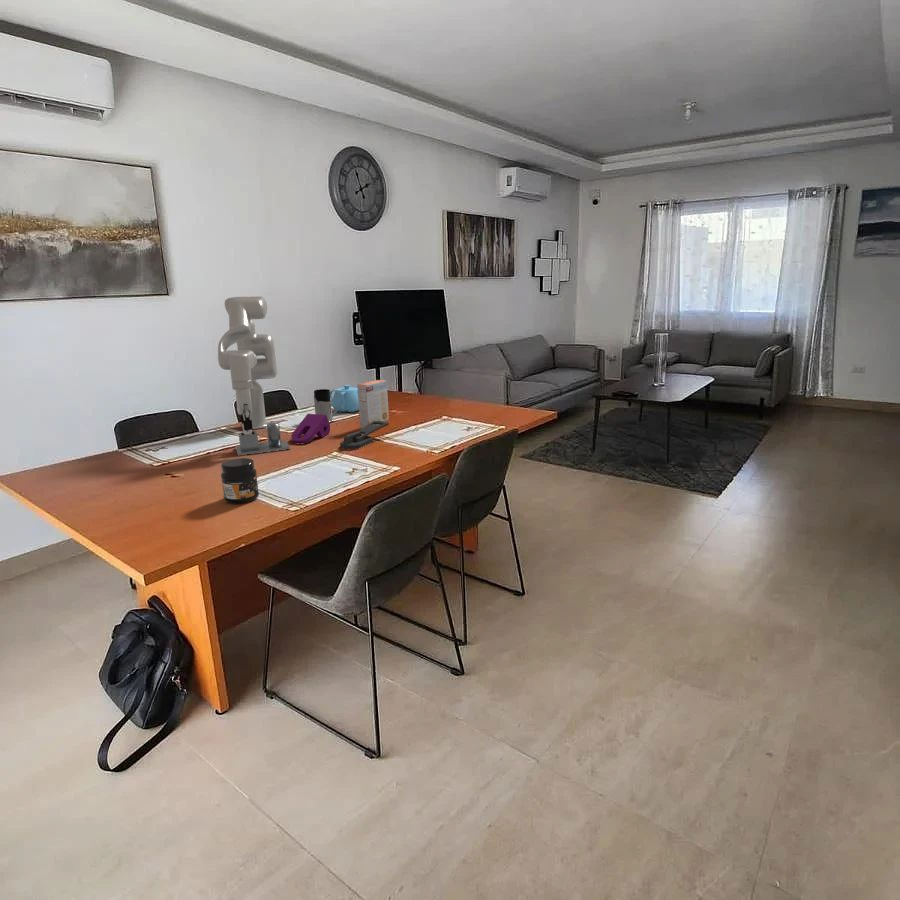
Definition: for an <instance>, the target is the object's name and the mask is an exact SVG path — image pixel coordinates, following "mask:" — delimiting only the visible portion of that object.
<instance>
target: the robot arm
mask: <svg viewBox="0 0 900 900" xmlns="http://www.w3.org/2000/svg"><path fill="white" fill-rule="evenodd" d="M224 308H225V310H226V313H227V315H228V327H229V329H228V330H227V331H226V332H224V334H222V336H221V338H220V339H219V341H218V345H217V361H218V362H217V363H218V366H219V367H220V368H221V369H222V370H224V371H225V370H226V371H227V370H228V371H230V379H231V380H230V381H231V386H232V390H233V391H235V401H236V411H237V414H238V415H239V416H240V421H241V428H242V429H243V425H244V430H245V431H246V430H252V431H253V430H258V429H260V430H261V429H264V428H267V424H268V423H270V422H269V421H267V420H266V418H267V417H266V410H265V400H264V390H263V387H262V385H261V384H260V383H259V382H257V380H270V379H275V378H276V377H277V372H278V369H277V361H276V350H275V343H274V340H273V337H272V336H271V335H270V334H267V333H263V334H257V333H256V326H255V325H256V324H255V322H254V321H253V320H264V319H265V318H266V316H267V312H268V304H267V300H266V299H265V297H263V296H233V297H228V298H226V299H225V300H224ZM234 344H236V347H237V349H236V350H228V348H229V347H231V346H232V345H234ZM259 356H260V357H261V356H263V357H265V358H259ZM242 424H243V425H242Z"/></svg>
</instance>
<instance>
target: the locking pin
mask: <svg viewBox="0 0 900 900" xmlns="http://www.w3.org/2000/svg"><path fill="white" fill-rule="evenodd" d="M242 425H243V424H242V423H241V426H242ZM252 431H253V429H252V430H246V431H245V430H244V425H243V428H242V432H243V434H244V435H251V434H252Z"/></svg>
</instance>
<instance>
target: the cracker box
mask: <svg viewBox="0 0 900 900" xmlns="http://www.w3.org/2000/svg"><path fill="white" fill-rule="evenodd" d="M356 385H357V387H356V388H358V401H359V410H358V411H359V413H358V414H359V424H360V425H359V426H360V430H361V429H362V428H364V427H365V426H367V425H368V424H370V423H371V422H373V421H384V422H388V425H390V413H389V401H388V400H389V399H388V382H387V380H382V379H376V380H371V381H366V382H363V383H358V384H356ZM373 425H378V424H373ZM379 426H380V425H379Z"/></svg>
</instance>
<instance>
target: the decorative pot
mask: <svg viewBox="0 0 900 900" xmlns="http://www.w3.org/2000/svg"><path fill="white" fill-rule="evenodd" d="M333 392H334V394H333ZM336 393H337V394H336ZM339 393H341V394H342V395H343V404H342V395H341V394H339ZM335 394H336V395H335ZM334 395H335V400H334ZM330 400H331V401H333V400H334V401H333V402H331V407H332V409H334V411H335V412H336V411H337V410H338V409H339V408H340V406H341V404H342V406H341V408H340V409H339V410H338V411H337V413H344V412H349V413H350V414H354V413H356V411H357V412H358V411H359V401H358V388H357V387H353V386H351V385H350V384H345V385H343V387H339V388H337V389H331V390H330Z"/></svg>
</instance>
